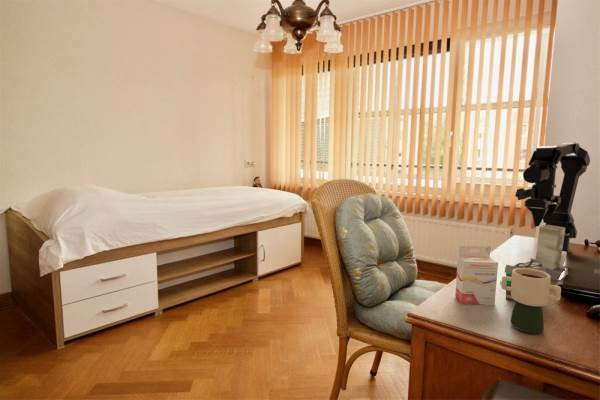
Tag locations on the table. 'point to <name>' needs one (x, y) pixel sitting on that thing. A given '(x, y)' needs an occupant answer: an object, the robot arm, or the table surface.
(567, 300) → the table surface
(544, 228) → the sage block
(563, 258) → the ivory cube
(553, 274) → the slate slab
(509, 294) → the food container
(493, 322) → the table surface
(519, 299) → the character mug
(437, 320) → the table surface
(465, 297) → the ink cartridge box
